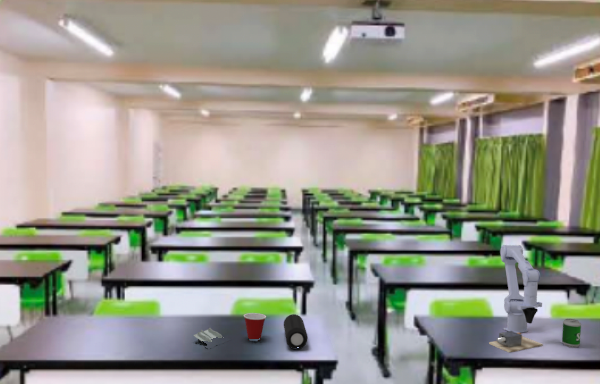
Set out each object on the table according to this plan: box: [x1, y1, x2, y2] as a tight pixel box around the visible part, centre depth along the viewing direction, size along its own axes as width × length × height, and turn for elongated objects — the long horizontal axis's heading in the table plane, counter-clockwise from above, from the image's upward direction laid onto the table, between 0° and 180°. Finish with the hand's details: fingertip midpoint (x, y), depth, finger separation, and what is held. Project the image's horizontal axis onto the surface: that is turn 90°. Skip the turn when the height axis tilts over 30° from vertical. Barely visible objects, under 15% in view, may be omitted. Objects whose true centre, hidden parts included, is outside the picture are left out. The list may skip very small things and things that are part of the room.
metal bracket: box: [193, 327, 223, 342], centre depth 242 cm, size 14×6×15 cm
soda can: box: [561, 318, 582, 349], centre depth 244 cm, size 8×8×12 cm
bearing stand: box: [488, 331, 544, 353], centre depth 244 cm, size 22×12×6 cm, turn 116°
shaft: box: [496, 333, 522, 343], centre depth 242 cm, size 14×4×4 cm, turn 116°
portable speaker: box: [283, 313, 309, 349], centre depth 244 cm, size 26×10×10 cm, turn 5°
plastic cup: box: [243, 312, 267, 339], centre depth 245 cm, size 11×11×12 cm
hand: (529, 322), depth 248 cm, fingers closed
